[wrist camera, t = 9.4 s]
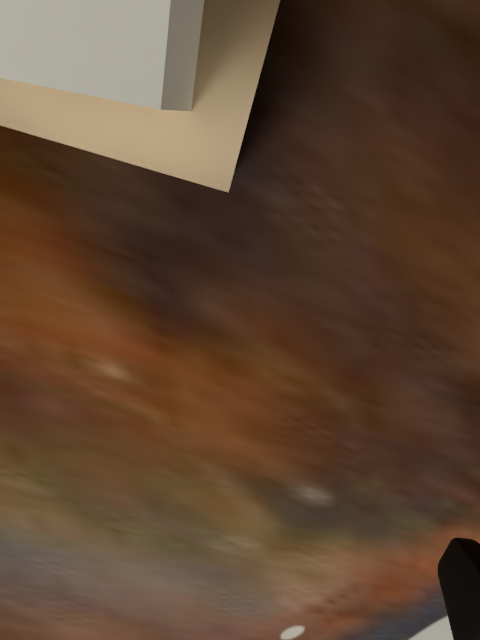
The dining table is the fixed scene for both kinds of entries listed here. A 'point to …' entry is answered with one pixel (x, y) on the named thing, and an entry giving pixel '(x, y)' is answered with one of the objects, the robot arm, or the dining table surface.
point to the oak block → (165, 125)
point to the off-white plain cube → (105, 48)
